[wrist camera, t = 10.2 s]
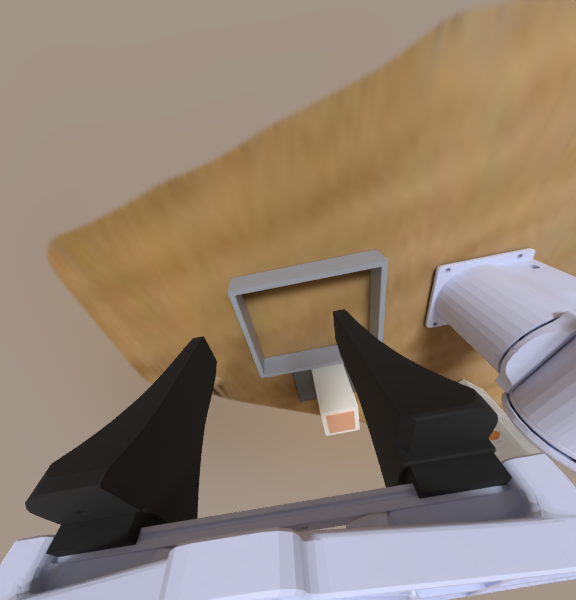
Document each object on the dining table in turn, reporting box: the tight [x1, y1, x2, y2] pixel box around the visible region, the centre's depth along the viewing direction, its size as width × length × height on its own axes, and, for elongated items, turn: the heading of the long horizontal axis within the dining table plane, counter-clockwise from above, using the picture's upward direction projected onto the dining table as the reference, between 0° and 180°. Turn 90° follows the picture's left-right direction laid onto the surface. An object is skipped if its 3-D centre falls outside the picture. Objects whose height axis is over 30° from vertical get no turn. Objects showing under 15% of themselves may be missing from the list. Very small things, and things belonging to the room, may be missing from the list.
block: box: [311, 363, 360, 436], centre depth 28 cm, size 4×5×6 cm
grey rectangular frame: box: [228, 249, 388, 378], centre depth 24 cm, size 14×12×2 cm
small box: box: [458, 379, 541, 462], centre depth 32 cm, size 8×6×10 cm
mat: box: [293, 363, 356, 402], centre depth 31 cm, size 9×8×1 cm
